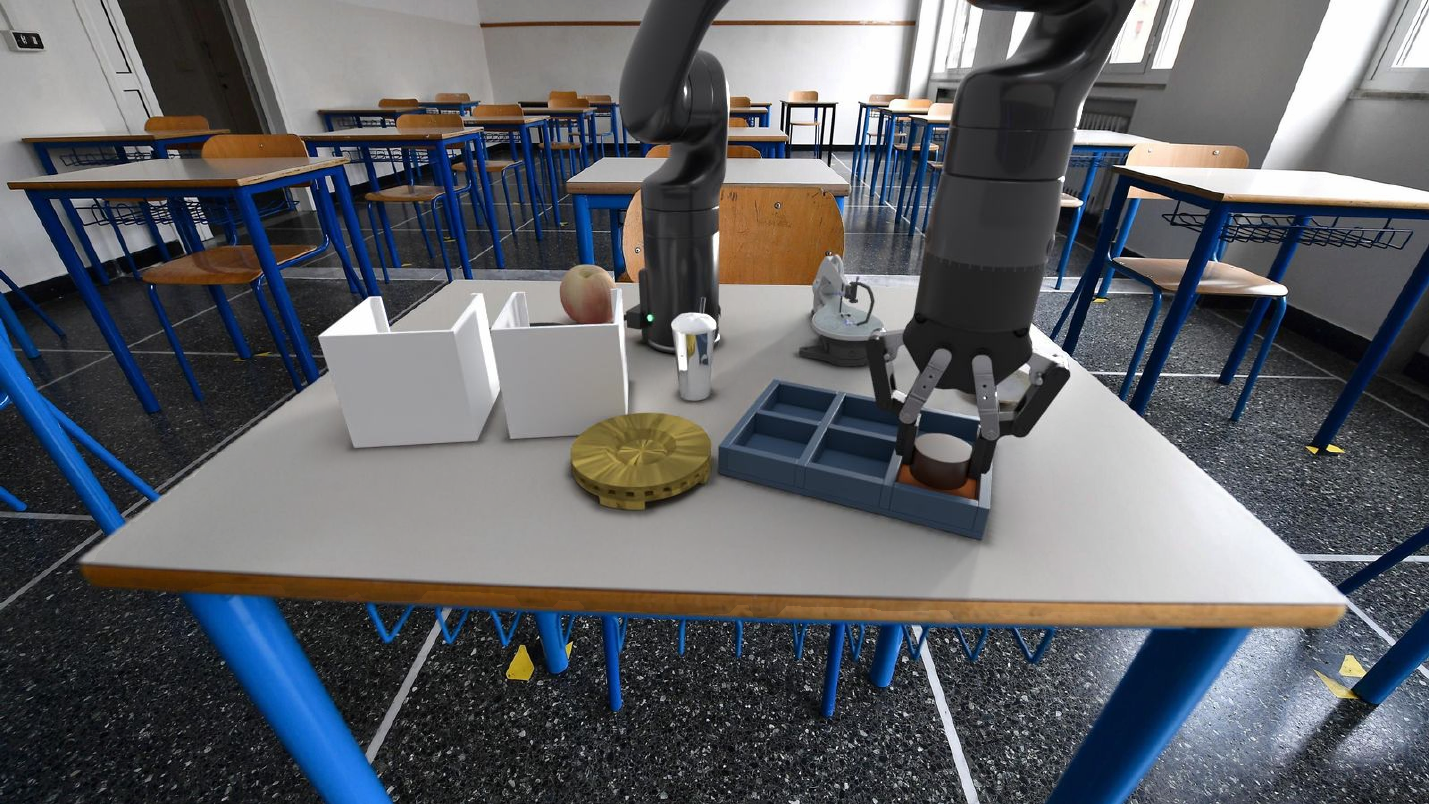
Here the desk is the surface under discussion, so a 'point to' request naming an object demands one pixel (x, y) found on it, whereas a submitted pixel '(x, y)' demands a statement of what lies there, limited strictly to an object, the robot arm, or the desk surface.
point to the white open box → (474, 375)
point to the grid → (850, 456)
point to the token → (941, 461)
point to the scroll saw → (839, 317)
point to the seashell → (1013, 387)
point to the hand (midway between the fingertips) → (939, 465)
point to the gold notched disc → (641, 458)
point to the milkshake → (694, 353)
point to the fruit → (587, 294)
